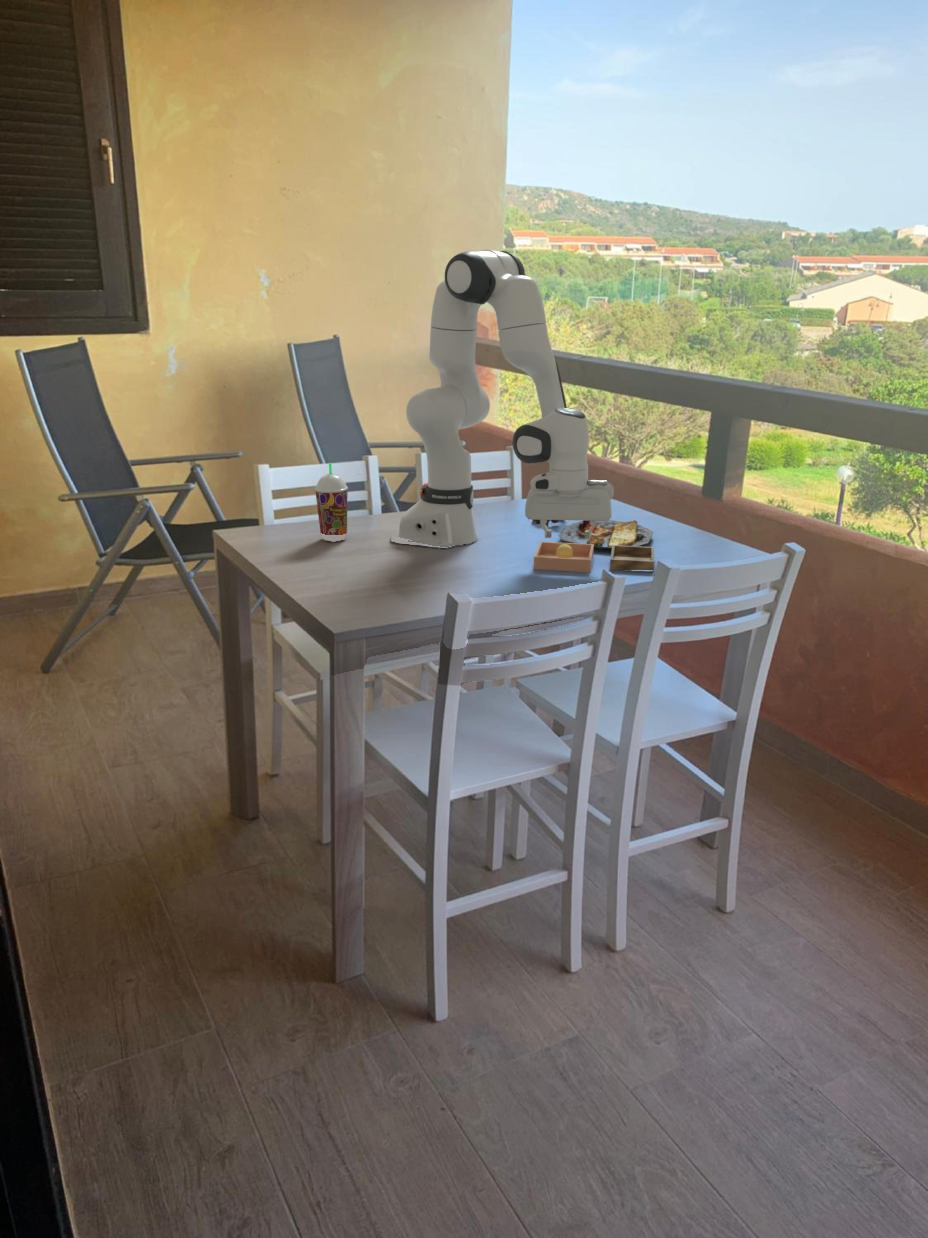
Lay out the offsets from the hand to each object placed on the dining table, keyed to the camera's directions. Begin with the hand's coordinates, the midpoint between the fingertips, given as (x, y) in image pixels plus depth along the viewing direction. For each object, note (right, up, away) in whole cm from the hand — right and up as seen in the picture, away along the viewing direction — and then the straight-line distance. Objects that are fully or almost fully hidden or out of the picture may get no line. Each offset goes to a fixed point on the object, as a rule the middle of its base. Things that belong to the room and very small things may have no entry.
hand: (568, 537), depth 216 cm
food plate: (+12, +1, +21) cm, 25 cm away
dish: (-1, -6, +3) cm, 6 cm away
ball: (-1, -3, +2) cm, 4 cm away
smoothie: (-59, +1, +22) cm, 63 cm away
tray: (+15, -6, +2) cm, 17 cm away
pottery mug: (-1, +7, +38) cm, 38 cm away
